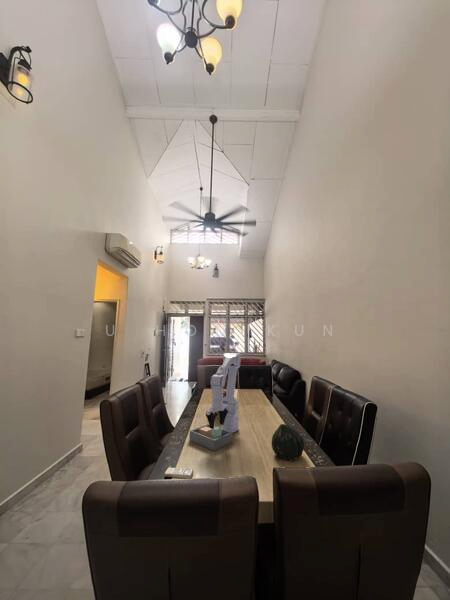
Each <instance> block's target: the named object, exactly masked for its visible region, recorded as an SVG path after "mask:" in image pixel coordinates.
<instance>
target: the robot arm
mask: <svg viewBox="0 0 450 600" xmlns="http://www.w3.org/2000/svg"><path fill="white" fill-rule="evenodd" d="M241 359H242V357H241V354H240V353H239V352H238V353H235V352H233V353H232V352H224V353H223V356H222V361H223V363H222V365H221V366H219V367H218V368H217V371H216V373H215V374H213V375H211V376H210V387H211V388H210V389H211V407H210V408H208V409H206V410H205V416H206V419H207V422H208V424H209V426H210V428H211V429H214V426H215V420H216V419H217V418H216V415H214V414H213V413H215V412H219V418H218V419H219V425H221V428H222V429H223V430H226V431H229V432H232V434H233V433H235V432H237V431H240V428H239V416H238V412H239V402H238V400H237V398H236V397H235V391H236V380H237V372H238V369H239V368H241ZM227 376H228V377H227ZM226 378H227V384H226ZM225 384H226V385H227V386H226V390H225V391H226V397H224V398H223V391H224V387H225ZM227 402H228V403H227ZM215 418H216V419H215Z"/></svg>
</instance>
